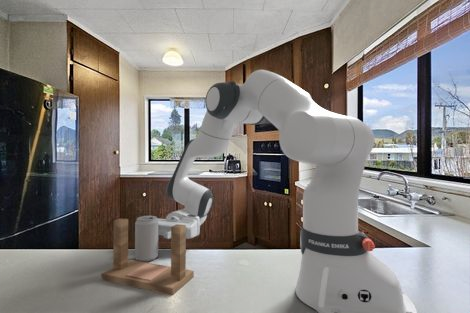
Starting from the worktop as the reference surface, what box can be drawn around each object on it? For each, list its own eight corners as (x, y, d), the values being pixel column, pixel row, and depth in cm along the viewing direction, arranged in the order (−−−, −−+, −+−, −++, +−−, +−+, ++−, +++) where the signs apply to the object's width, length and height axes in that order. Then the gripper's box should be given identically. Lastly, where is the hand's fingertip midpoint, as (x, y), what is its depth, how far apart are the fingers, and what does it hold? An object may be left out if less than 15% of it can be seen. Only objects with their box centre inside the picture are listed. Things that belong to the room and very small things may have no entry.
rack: (193, 276, 63) (193, 222, 63) (172, 295, 54) (173, 231, 54) (128, 265, 70) (129, 215, 70) (101, 279, 61) (101, 223, 61)
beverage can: (151, 263, 70) (151, 220, 71) (130, 261, 72) (130, 219, 72) (162, 255, 77) (162, 215, 77) (142, 253, 78) (143, 214, 78)
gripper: (153, 212, 93) (125, 221, 80) (203, 216, 86) (181, 226, 73) (153, 229, 93) (125, 241, 80) (203, 235, 86) (181, 248, 73)
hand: (152, 234), depth 76 cm, fingers open, 8 cm apart
